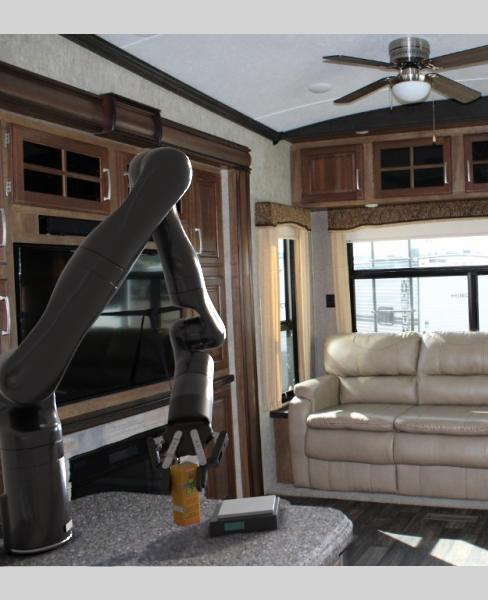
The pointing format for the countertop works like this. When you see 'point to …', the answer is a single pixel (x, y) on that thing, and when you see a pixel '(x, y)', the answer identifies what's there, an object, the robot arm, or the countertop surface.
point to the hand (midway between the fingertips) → (183, 490)
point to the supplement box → (185, 494)
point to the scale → (245, 515)
